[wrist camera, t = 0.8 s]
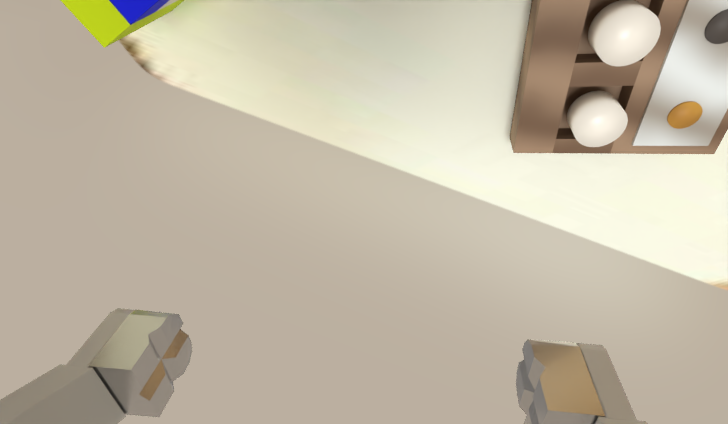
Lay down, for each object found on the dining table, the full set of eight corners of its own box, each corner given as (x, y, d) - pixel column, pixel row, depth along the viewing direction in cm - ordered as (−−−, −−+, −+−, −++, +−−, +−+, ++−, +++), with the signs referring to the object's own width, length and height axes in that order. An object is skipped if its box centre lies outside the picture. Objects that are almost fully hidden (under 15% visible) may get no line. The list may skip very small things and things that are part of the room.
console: (557, -154, 27) (569, -156, 25) (860, -189, 24) (911, -194, 22) (509, 136, 41) (514, 155, 39) (698, 136, 38) (716, 157, 36)
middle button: (596, 1, 30) (606, 10, 28) (655, -2, 30) (670, 7, 28) (582, 55, 33) (590, 67, 31) (636, 53, 32) (648, 65, 30)
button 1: (572, 91, 35) (580, 104, 33) (624, 90, 34) (634, 103, 32) (562, 132, 37) (568, 147, 35) (609, 132, 37) (618, 147, 35)
